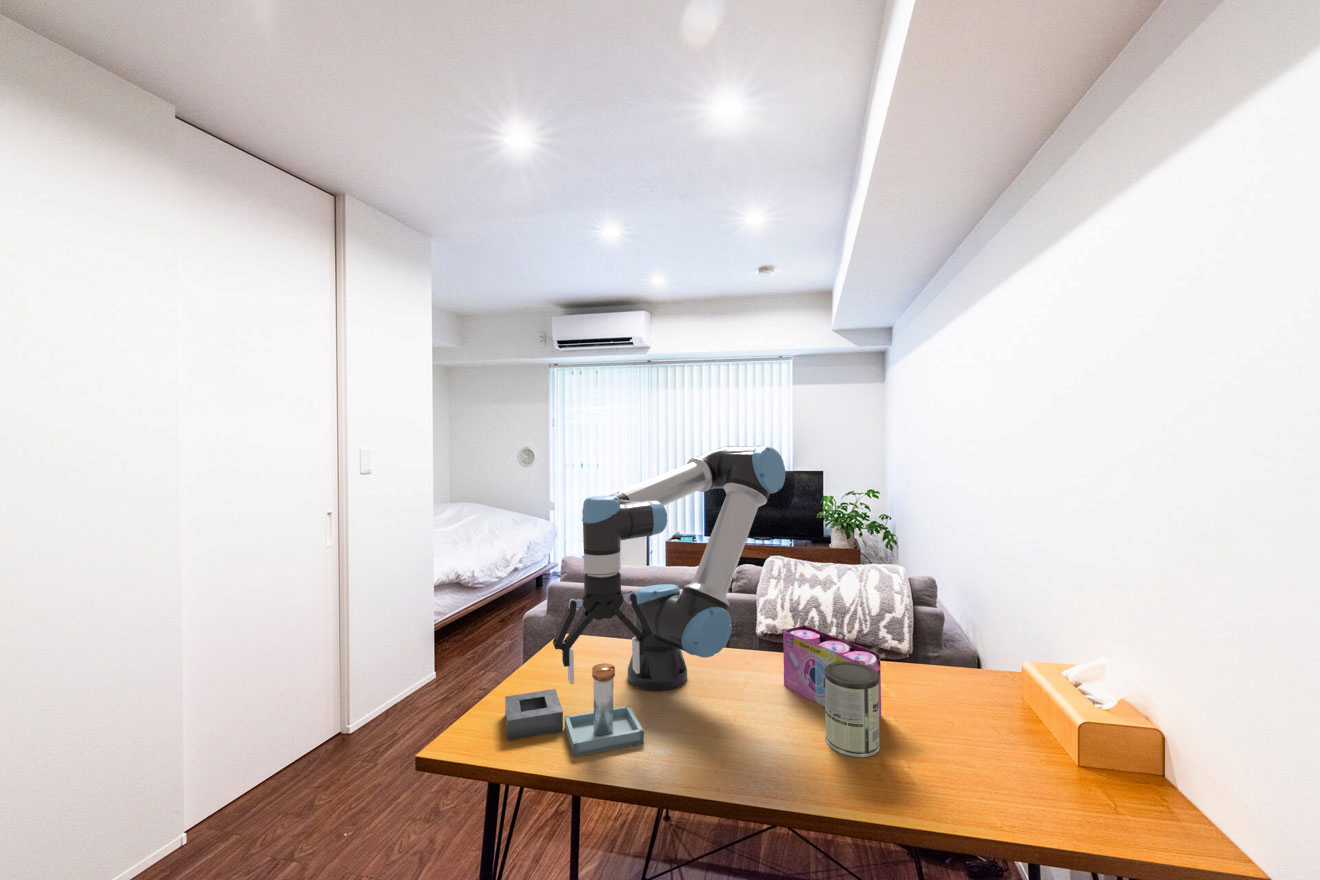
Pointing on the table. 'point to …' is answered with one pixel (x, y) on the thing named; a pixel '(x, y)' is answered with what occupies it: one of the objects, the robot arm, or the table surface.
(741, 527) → the robot arm
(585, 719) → the tray
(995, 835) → the table surface
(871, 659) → the gum box
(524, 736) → the block
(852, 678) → the coffee can
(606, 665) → the pin
